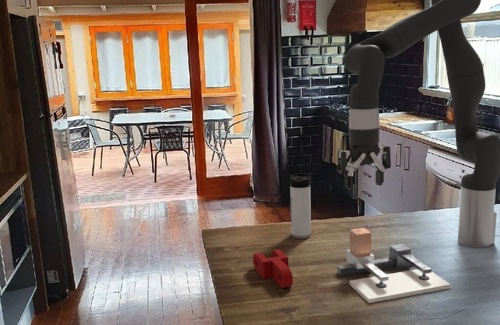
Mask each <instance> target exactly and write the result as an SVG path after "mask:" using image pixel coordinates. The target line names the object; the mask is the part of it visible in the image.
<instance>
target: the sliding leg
mask: <svg viewBox="0 0 500 325" xmlns="http://www.w3.org/2000/svg"><path fill="white" fill-rule="evenodd" d="M371 248H372V232H371V231H370V230H368V229H367V228H365V227H358V228H352V229H349V248H348V249H346V250H345V254H346V255H345V258H346V260H345V261H347V262H348V264H352V265H353V266H354V267H355V268H356V269H360V268H365V269H367V270H368V271H369V272H368V273H370V274H371V275H372V276H373V277H376V278H378V279H379V280H380V284H381V285H382V284H383V281H386V280H388V278H389V276H388V275H386V274H387V273H385V272H384V271H383V270H382V269H381V270H380V269H379V268H377V267H376V266H375V265H374V260H375V255H374V254H373V253H372V249H371Z"/></svg>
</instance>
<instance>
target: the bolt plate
mask: <svg viewBox="0 0 500 325" xmlns="http://www.w3.org/2000/svg"><path fill="white" fill-rule="evenodd" d="M385 274H386V275H388V276H389V278H388V280H386V281H383V284H382V285H381V284H380V280H379V279H378V278H376V277H375V276H370V277H364V278H359V279H353V280H349V286H350V287H352V288H353V289H354V290H355V291H356V292H357V293H358V294H359V295H360V296H361V297H362V298H363V299H364V300H365V301H366V302H367V303H369V304H371V303H377V302H382V301H388V300H394V299H399V298H405V297H409V296H410V297H411V296H415V295H420V294H425V293H426V294H427V293H431V292H437V291H441V290H442V291H443V290H448V289H451V283H449V282H448V281H446V280H445V279H444V278H442V277H440V276H439V275H437V274H436V273H435V272H433V271H431V273H427V274H426V277H423V276H422V272H421V271H419V270H418V269H417V268H415V269H410V270H405V271H399V272H394V273H385Z"/></svg>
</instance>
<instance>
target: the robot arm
mask: <svg viewBox="0 0 500 325" xmlns="http://www.w3.org/2000/svg"><path fill="white" fill-rule="evenodd" d="M430 2H431V3H430V6H429V7H427V8H425V9H423V10H420V11H419V12H416V13H414V14H411V15H408V16H405V17H404V18H401V19H400V20H398V21H397V22H394V23H393V24H392V25H391V26H390V25H389V27H387V28H386V29H384V30H382V31H381V32H380V33H378V34H376V35H373V36H372V37H369V38H367V39H366V38H365V39H364V40H363V41H360V42H358V43H356V44H355V45H353V46H352V47H350V48H349V49H348V50H347V51H346V52H345V53H346V54H345V55H344V59H343V64H344V67H345V69H346V70H347V71H348V72H349V73H352V74H355V75H358V78H357V83H356V84H354V85H353V86H351V87H350V91H349V114H348V115H349V116H348V143H349V148H348V150H342V149H339V150H338V151H337V160H336V161H337V166H336V172H337V173H339V174H341V175H344V187H345V188H346V189H347V190H349V191H352V190H353V189H354V188H353V186H354V185H353V184H354V181H353V180H354V179H353V178H354V177H353V174H354V172H355V171H356V170H357V169H358V168H359V166H360V167H363V166H365V165H368V166H370V165H373V167H374V168H375V169H376V170H375V185H377V186H383V184H384V182H385V180H384V179H385V171H386V170H388V169H391V167H392V157H391V155H392V154H391V147H390V146H388V145H385V144H382V145H381V146H379V144H380V110H379V90H380V87H381V84H382V83H381V82H382V79H383V75H384V69H385V62H386V61H385V60H386V59H391V58H394V57H397V56H398V55H399V54H401V53H404V51H405V50H408V49H409V48H411V47H412V46H414V45H415V44H416V43H418V42H419V41H421V40H423V39H425V38H426V37H427V36H429V35H431V34H433V33H435V32H438V36H439V40H440V44H441V49H442V54H443V60H444V63H445V71H446V78H447V83H448V88H449V92H450V97H451V103H452V105H451V106H452V112H453V118H454V128H455V130H454V131H455V145H456V146H455V147H456V152H457V154H458V156H459V157H460V159H461V160H462V161H465V162H467V163H472V164H474V169H473V172H472V173H467V174H464V175H463V176H461V181H460V195H459V196H460V198H459V215H458V228H457V229H458V230H457V232H458V234H457V241H458V243H460V244H461V245H463V246H467V247H469V248H477V249H478V248H479V249H481V248H487V247H490V246H492V244H495V243H496V229H497V228H496V226H497V212H496V211H495V204H496V191H497V190H496V187H497V183H498V181H499V177H500V137H499V136H498V135H497V134H494V133H490V132H489V133H488V132H483V131H480V129H479V125H478V120H477V117H478V116H477V112H478V108H479V106H480V103H481V101H482V98H483V97H484V93H485V91H486V90H485V89H486V76H485V72H484V65H483V62H482V60H481V58H480V56H479V54H478V52H476V50H475V48H474V47H473V46H472V44H471V43H470V42H469V40H468V39H467V37H466V35H465V33H464V30H463V26H462V22H461V21H462V20H463V19H464V18H467V17H469V16H471V15H473V14H474V13H475V12H476V11H477V10H478V9H479V7H480V5H481V3H482V0H431V1H430ZM379 154H381V160H380V159H379V158H378V156H379ZM349 157H350V158H349ZM348 158H349V161H348V162H347V159H348Z"/></svg>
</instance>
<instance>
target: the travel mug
mask: <svg viewBox="0 0 500 325" xmlns="http://www.w3.org/2000/svg"><path fill="white" fill-rule="evenodd" d="M289 178H290V185H289V186H290V187H289V189H290V191H289V192H290V194H289V195H290V224H291V225H290V228H291V229H290V230H291V232H290V234H291V235H290V236H291V237H292V238H294V239H297V238H298V240H303V239H304V240H305V239H308V237H309V238H310V237H311V236H312V222H311V221H312V220H311V219H312V217H311V216H312V215H311V214H312V213H311V202H312V201H311V176H310V175H309V174H307V173H305V172H299V173H295V174H293V175H291V176H290V177H289Z"/></svg>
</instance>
